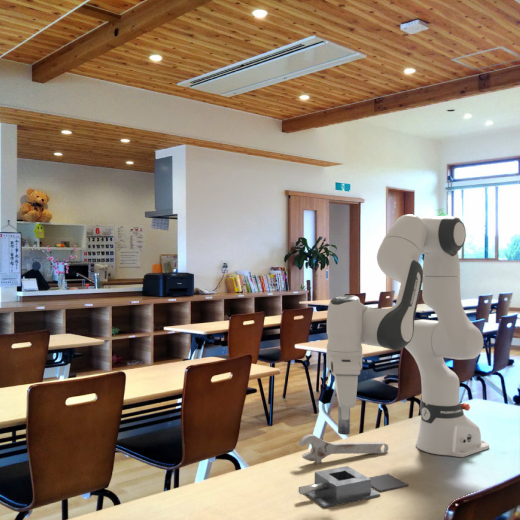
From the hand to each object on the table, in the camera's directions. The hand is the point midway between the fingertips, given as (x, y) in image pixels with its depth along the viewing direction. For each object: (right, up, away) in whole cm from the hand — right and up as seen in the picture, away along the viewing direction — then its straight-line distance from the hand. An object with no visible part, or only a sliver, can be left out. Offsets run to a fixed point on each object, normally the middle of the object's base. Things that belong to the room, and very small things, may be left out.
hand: (344, 416), depth 144 cm
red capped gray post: (0, -4, 0) cm, 4 cm away
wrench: (+4, -19, +24) cm, 31 cm away
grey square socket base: (-3, -19, -1) cm, 19 cm away
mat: (+11, -19, +5) cm, 23 cm away
